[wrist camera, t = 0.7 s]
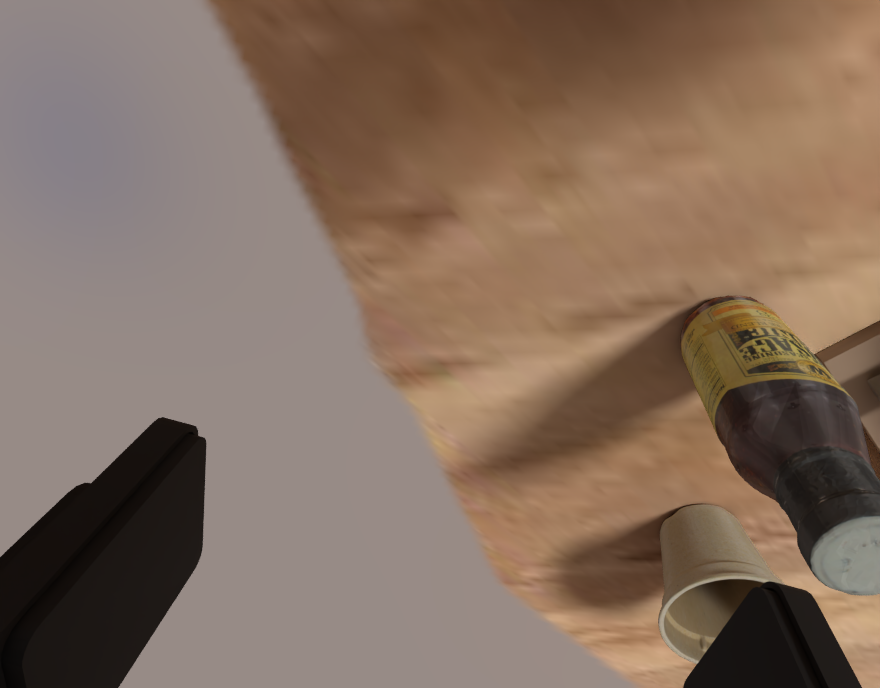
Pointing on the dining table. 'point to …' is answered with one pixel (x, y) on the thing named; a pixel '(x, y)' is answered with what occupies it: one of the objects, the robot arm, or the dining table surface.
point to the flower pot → (705, 576)
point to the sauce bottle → (790, 435)
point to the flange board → (859, 374)
